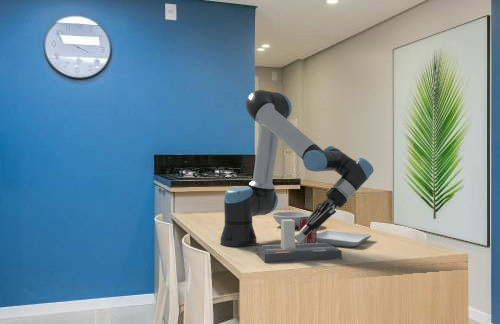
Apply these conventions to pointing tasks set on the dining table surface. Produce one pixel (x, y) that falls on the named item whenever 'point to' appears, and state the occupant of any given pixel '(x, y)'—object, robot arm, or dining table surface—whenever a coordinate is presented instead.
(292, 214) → the soup bowl
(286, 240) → the tab
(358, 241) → the salad plate
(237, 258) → the dining table surface
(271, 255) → the switch board
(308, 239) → the soda can
